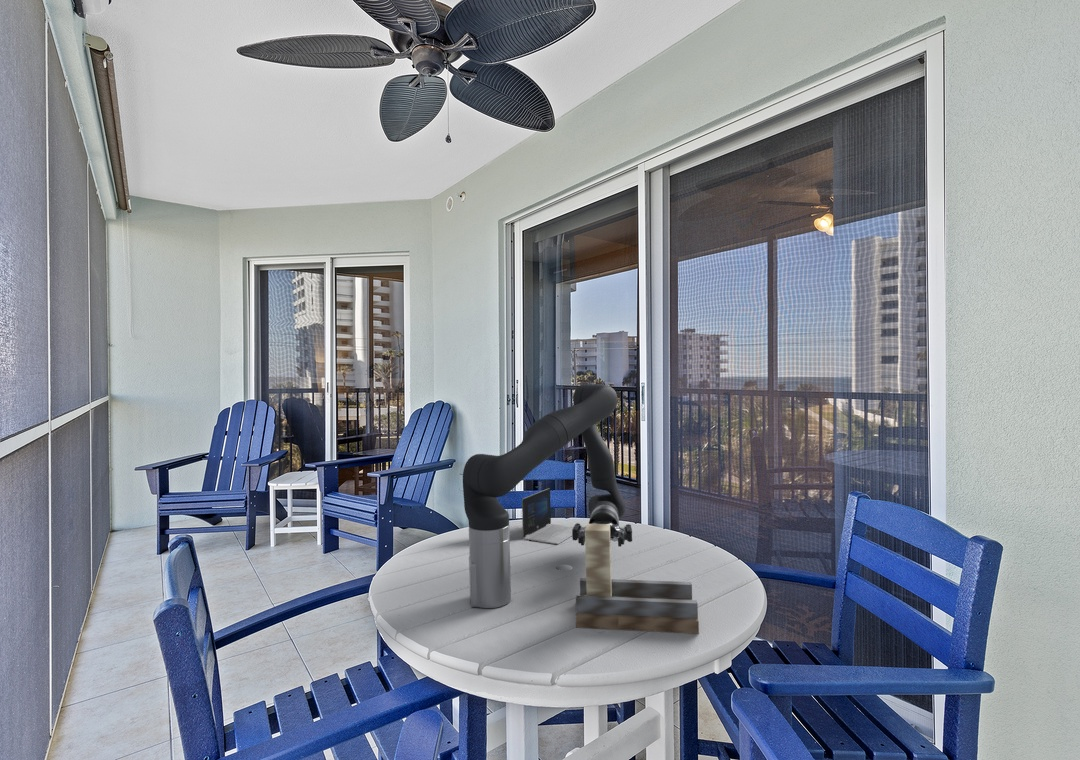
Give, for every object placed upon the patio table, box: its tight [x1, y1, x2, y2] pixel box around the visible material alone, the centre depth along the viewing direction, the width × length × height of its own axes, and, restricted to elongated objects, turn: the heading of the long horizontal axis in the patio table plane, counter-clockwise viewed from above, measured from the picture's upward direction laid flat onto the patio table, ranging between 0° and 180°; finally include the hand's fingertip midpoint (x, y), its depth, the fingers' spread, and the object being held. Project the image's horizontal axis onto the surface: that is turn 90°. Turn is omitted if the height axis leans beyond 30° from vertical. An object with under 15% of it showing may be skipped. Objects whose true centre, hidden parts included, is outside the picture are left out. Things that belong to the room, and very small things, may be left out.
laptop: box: [521, 487, 574, 545], centre depth 173 cm, size 18×12×13 cm
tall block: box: [584, 523, 612, 597], centre depth 115 cm, size 5×5×16 cm
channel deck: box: [575, 577, 700, 635], centre depth 114 cm, size 24×13×6 cm, turn 81°
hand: (600, 541), depth 124 cm, fingers open, 8 cm apart
